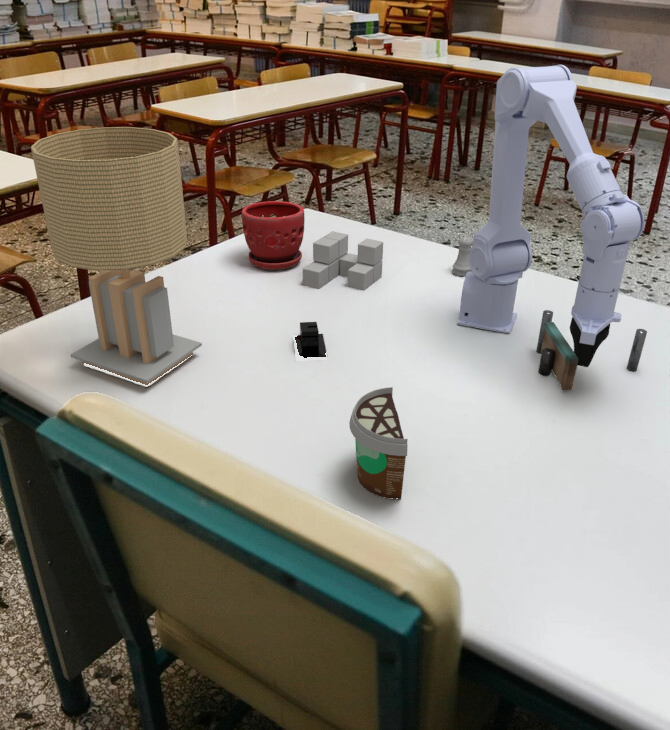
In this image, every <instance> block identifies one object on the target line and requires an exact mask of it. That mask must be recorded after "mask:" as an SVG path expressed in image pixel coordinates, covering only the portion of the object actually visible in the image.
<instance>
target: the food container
mask: <svg viewBox="0 0 670 730" xmlns="http://www.w3.org/2000/svg"><path fill="white" fill-rule="evenodd" d="M393 390H394V389H393V387H391V386H390V387H383V388H382V387H381V388H379V389H378V388H377V389H373V390H372V391H370V392H367V393H366V394H364V395H362V396H361V397H360V398H359V399H358V401H357V402H356V404H355V405H354V407H353V408H352V412H351V414H350V420H349V423H348V424H349V430H350V432H351V435H352V436H353V437H354V438H355V439H354V440H355V456H356V457H355V459H356V473H357V474H356V475H357V480H359V481H358V482H359V484H360V485H361V486H362V488H364V490H365V491H367V492H369V493H371V494H372V493H373V494H372V495H374V494H375V495H374V496H377V495H378V496H377V497H380V496H381V497H380V498H383V497H385V498H384V499H388V498H393V499H392V500H402V494H403V485H404V484H403V483H404V477H405V476H404V475H405V468H406V467H405V466H406V458H407V456H408V448H409V447H408V438H404V433H403V430H402V426H401V422H400V418H399V413H398V411H397V409H396V405H395V401H394V398H393ZM396 498H398V499H396Z"/></svg>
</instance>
